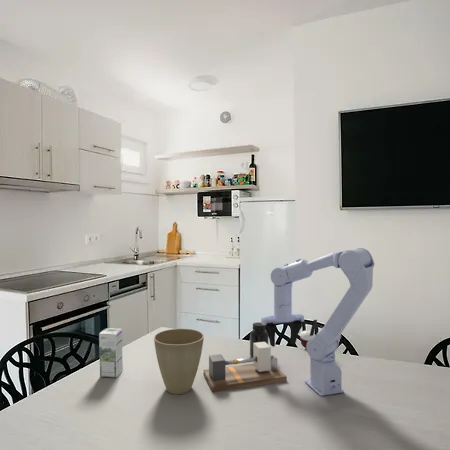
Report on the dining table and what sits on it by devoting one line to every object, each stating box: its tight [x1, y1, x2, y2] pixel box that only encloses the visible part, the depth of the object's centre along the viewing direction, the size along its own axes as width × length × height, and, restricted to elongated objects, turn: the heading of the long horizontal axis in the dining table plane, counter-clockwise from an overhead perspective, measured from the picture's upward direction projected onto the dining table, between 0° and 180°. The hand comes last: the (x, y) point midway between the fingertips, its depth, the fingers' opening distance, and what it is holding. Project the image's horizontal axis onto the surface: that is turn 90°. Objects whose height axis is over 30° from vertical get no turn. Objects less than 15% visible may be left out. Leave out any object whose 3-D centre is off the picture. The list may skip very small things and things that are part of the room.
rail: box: [225, 355, 278, 371], centre depth 115 cm, size 2×20×5 cm, turn 106°
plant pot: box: [153, 328, 205, 395], centre depth 108 cm, size 15×15×16 cm
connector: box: [208, 353, 226, 381], centre depth 112 cm, size 5×4×6 cm
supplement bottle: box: [249, 321, 269, 358], centre depth 132 cm, size 7×7×12 cm
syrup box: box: [98, 327, 124, 378], centre depth 117 cm, size 6×6×14 cm
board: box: [203, 363, 288, 393], centre depth 114 cm, size 12×24×2 cm, turn 106°
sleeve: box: [252, 342, 272, 372], centre depth 116 cm, size 5×4×8 cm
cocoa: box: [299, 319, 318, 349], centre depth 141 cm, size 10×6×12 cm, turn 177°
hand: (282, 344), depth 118 cm, fingers open, 7 cm apart
